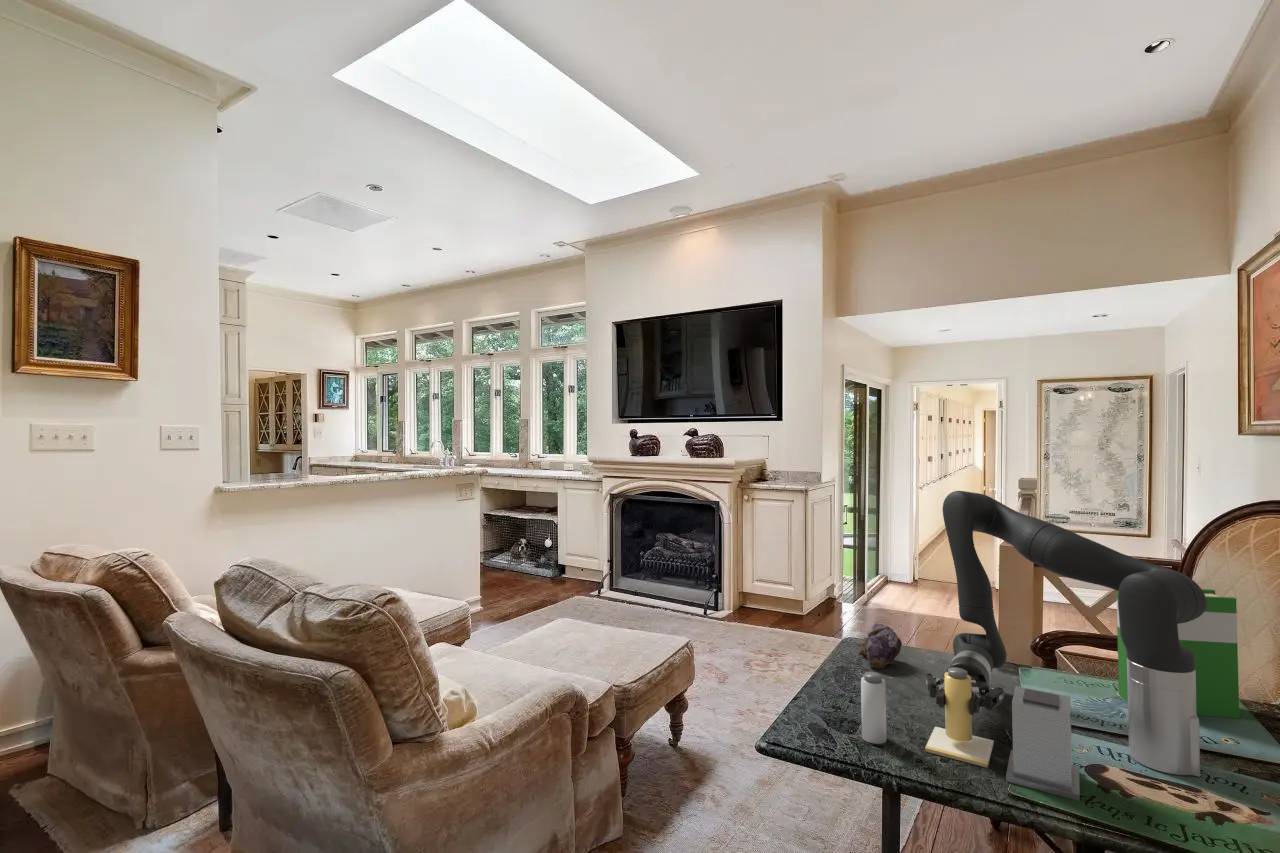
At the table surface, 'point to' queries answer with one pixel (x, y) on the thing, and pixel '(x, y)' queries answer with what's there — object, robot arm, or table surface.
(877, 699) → the cylinder
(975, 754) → the pad
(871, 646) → the rock
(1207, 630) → the green box
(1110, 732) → the table surface
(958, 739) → the cylinder
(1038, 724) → the unit
